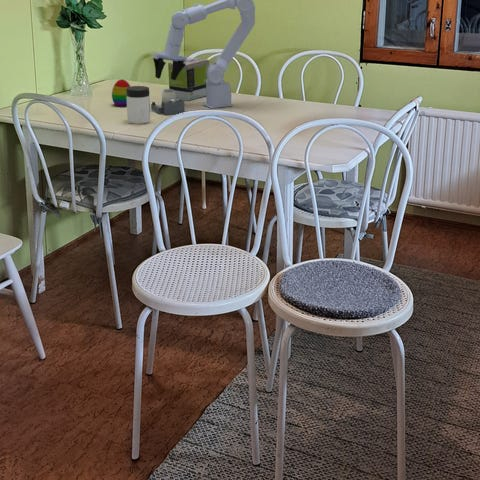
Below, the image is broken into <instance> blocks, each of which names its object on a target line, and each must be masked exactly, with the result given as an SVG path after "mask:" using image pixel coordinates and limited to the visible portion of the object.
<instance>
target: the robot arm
mask: <svg viewBox="0 0 480 480" xmlns="http://www.w3.org/2000/svg"><path fill="white" fill-rule="evenodd" d="M236 8H237V10H238V12H239V15H240V20H241V22H240V23H239V25H238V26H237V29H236V30H235V31H234V32H233V34H232V35H231V37H230V39H229V40H228V42H227V44H226V45H225V46H224V48H223V50H222V51H221V53H220V54H219V55H218V57H217V58H216V60H214V62H213V63H212V64H209V67H208V69H207V77H208V80H207V81H206V96H205V98H206V99H205V100H206V101H205V102H202V106H205V107H207V108H209V109H216V108H226V107H233V104H232V86H231V84H230V82H228V81H225V80H224V77H225V73H226V71H227V69H228V67H229V64H230V63H231V62H232V60H233V58H234V57H235V56H236V54H237V52H238V51H239V49H240V48H241V46H242V45H243V43H244V41H245V40H246V39H247V37H248V36H249V34H250V33H251V31H252V29H253V28H254V27H255V24H256V5H255V3H254V0H217V1H215V2H212V3H210V4H207V5H203V4H198V3H194V4H193V6H191V7H188V8H182V9H181V11H176V12H174V13H173V14H172V16H171V24H170V27H169V30H168V33H167V38H166V43H165V47H164V49H163V52H154V53H153V64H154V71H155V78H157V79H158V80H159V79H161V77H162V74H163V70H164V68H165V65H166V62H165V61H170V62H173V69H172V74H171V79H173V80H176V78H177V76H178V74H179V73H180V71H181V70H182V69H183V68H184V67H185V63H186V60H187V57H186V56H183V55H180V51H181V47H182V42H183V38H184V34H185V33H184V31H185V28H186V27H187V25H193V24H195V23H198V22H201V21H204V20H206V19H207V16H208V15H210V14H213V13H216V12H219V11H223V10H225V9H229V10H230V9H231V10H236Z"/></svg>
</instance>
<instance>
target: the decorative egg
mask: <svg viewBox="0 0 480 480" xmlns="http://www.w3.org/2000/svg"><path fill="white" fill-rule="evenodd" d="M127 87H131V85H130V83H129V82H128V81H126V80H125V79H119V80H117V81H116V82H115V83H114V85H113V87H112V90H111V98H112V102H113V103H114V105H115V106H116V107H127V98H126V97H127V95H126V88H127Z"/></svg>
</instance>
